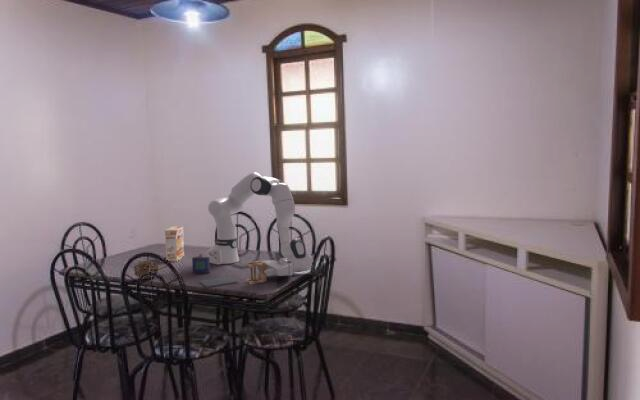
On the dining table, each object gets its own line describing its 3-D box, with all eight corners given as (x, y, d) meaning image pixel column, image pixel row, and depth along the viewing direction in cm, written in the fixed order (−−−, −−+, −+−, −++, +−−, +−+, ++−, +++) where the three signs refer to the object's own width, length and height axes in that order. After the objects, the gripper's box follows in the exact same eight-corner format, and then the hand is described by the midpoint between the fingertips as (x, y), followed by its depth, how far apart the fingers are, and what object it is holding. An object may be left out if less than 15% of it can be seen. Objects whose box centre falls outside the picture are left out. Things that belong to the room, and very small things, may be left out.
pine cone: (141, 283, 236) (140, 264, 235) (129, 280, 241) (128, 262, 240) (175, 273, 255) (175, 255, 254) (164, 271, 260) (163, 253, 259)
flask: (210, 272, 257) (209, 253, 256) (209, 273, 255) (208, 254, 253) (193, 272, 257) (192, 253, 255) (192, 274, 254) (191, 254, 253)
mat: (229, 277, 246) (229, 276, 246) (237, 282, 236) (237, 281, 236) (199, 282, 237) (199, 280, 237) (206, 287, 228) (206, 286, 228)
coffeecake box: (177, 261, 282) (176, 230, 280) (165, 261, 282) (164, 230, 280) (184, 256, 297) (183, 226, 295) (173, 256, 297) (172, 226, 295)
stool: (262, 279, 242) (261, 260, 241) (266, 281, 238) (266, 262, 237) (245, 281, 238) (245, 262, 237) (250, 284, 233) (249, 264, 232)
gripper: (276, 256, 254) (252, 259, 247) (293, 264, 237) (269, 267, 230) (276, 267, 255) (252, 271, 248) (293, 276, 237) (269, 280, 230)
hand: (260, 269), depth 239 cm, fingers open, 8 cm apart
